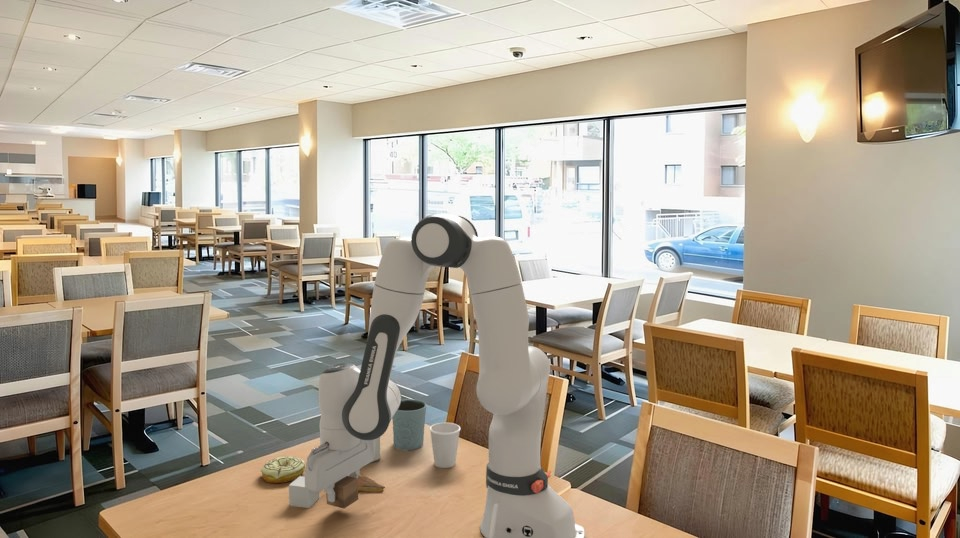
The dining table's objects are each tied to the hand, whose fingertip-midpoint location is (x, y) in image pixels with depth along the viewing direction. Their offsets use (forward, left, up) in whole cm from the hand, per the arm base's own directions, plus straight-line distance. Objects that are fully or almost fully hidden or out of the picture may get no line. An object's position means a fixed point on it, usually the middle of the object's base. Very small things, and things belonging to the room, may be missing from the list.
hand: (342, 494), depth 145 cm
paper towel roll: (+14, -26, -4) cm, 30 cm away
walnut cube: (0, 0, -2) cm, 2 cm away
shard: (+5, -13, -5) cm, 15 cm away
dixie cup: (-6, -34, -4) cm, 35 cm away
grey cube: (+11, +1, -4) cm, 12 cm away
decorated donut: (+26, -7, -4) cm, 27 cm away
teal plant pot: (+10, -40, -4) cm, 42 cm away
